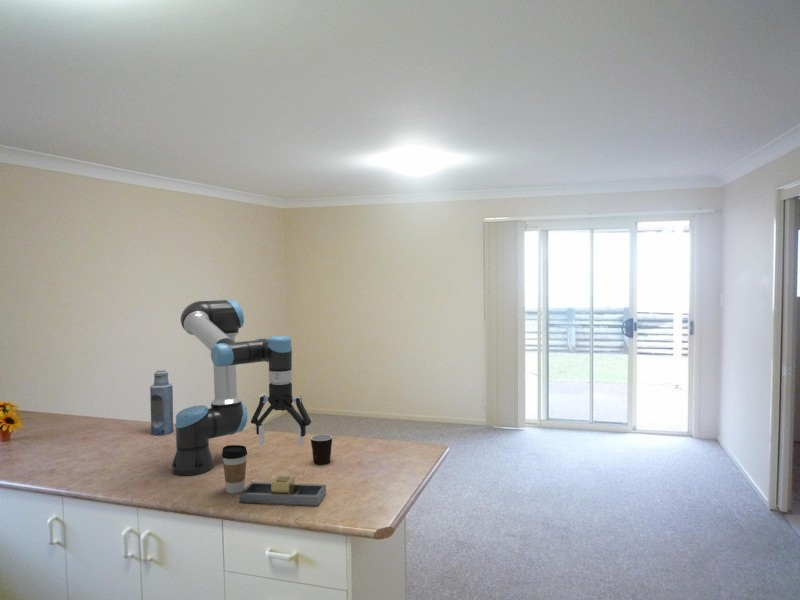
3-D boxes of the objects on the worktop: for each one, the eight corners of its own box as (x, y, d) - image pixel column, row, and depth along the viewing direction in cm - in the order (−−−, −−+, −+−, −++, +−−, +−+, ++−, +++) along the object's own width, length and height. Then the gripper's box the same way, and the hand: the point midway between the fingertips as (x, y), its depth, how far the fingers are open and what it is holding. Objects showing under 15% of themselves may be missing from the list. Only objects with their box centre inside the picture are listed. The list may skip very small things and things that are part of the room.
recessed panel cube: (271, 500, 173) (271, 481, 173) (277, 493, 179) (277, 474, 179) (289, 501, 172) (288, 482, 172) (294, 493, 178) (294, 475, 178)
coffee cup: (225, 485, 187) (224, 444, 186) (250, 484, 188) (249, 443, 187) (219, 495, 179) (218, 451, 178) (245, 494, 179) (244, 450, 179)
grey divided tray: (239, 502, 172) (239, 493, 172) (251, 490, 182) (251, 482, 182) (318, 506, 169) (318, 497, 169) (326, 493, 179) (325, 484, 179)
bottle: (146, 435, 248) (144, 371, 247) (159, 429, 258) (157, 368, 256) (165, 436, 246) (163, 372, 245) (177, 430, 256) (175, 368, 255)
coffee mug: (328, 466, 205) (328, 441, 204) (307, 465, 206) (307, 440, 206) (338, 456, 216) (337, 432, 216) (318, 455, 218) (317, 431, 217)
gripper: (240, 383, 174) (241, 446, 175) (313, 385, 171) (314, 450, 172) (249, 379, 182) (250, 439, 183) (319, 381, 178) (320, 442, 180)
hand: (281, 444), depth 177 cm, fingers open, 13 cm apart
